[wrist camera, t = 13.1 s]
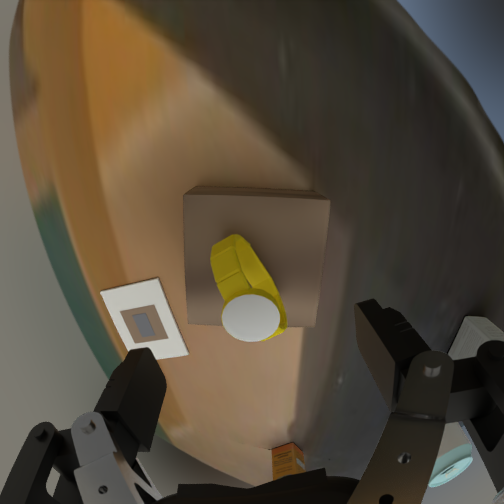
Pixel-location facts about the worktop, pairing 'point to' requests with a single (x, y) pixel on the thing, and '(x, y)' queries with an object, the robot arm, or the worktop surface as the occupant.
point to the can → (451, 455)
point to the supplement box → (287, 461)
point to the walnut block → (257, 245)
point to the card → (145, 318)
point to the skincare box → (473, 337)
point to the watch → (246, 292)
